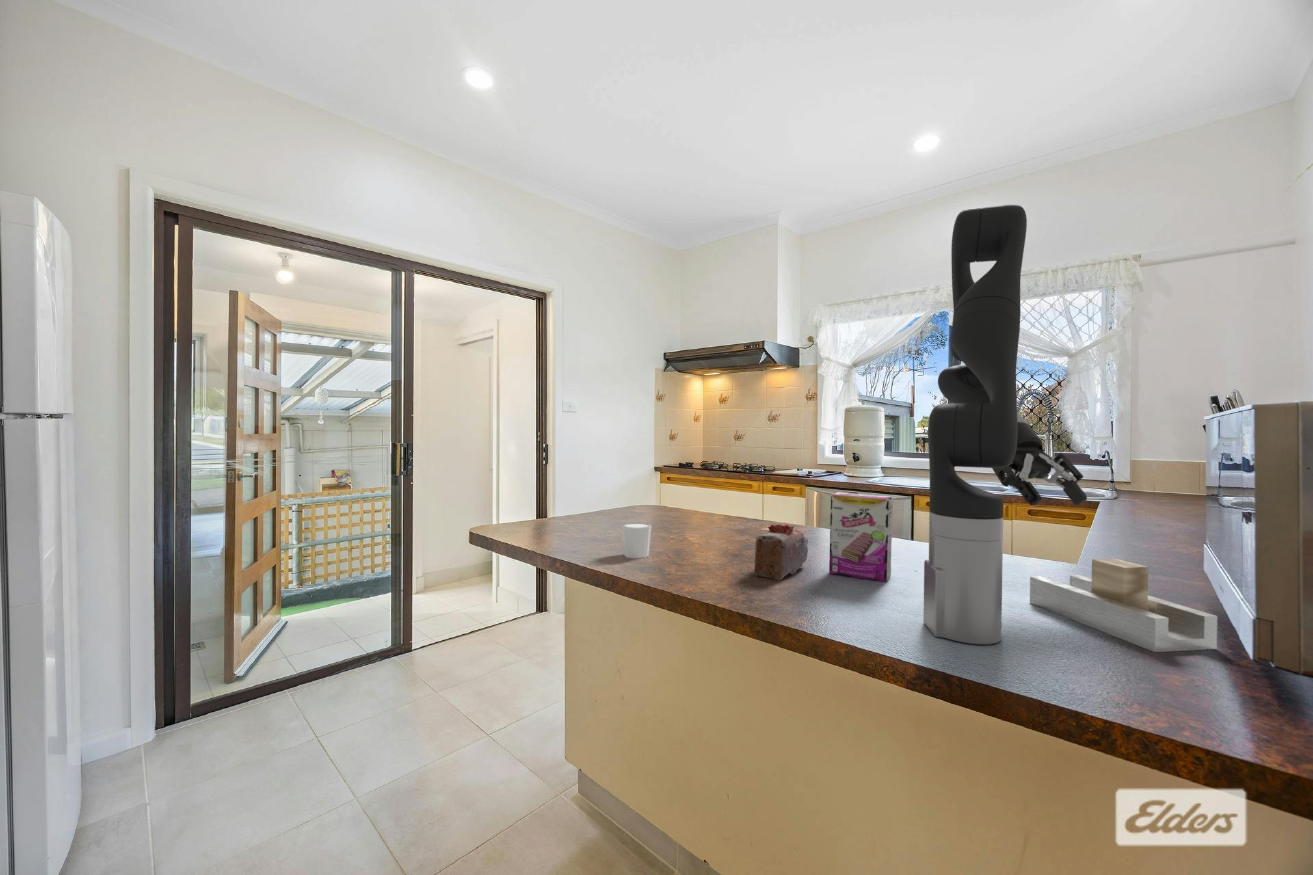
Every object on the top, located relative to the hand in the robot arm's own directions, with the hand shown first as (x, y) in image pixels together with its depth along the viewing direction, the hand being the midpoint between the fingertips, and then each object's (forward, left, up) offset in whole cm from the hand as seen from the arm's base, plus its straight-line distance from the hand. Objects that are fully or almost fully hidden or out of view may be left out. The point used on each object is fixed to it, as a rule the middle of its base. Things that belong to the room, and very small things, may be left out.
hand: (1059, 502), depth 89 cm
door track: (+3, -9, -17) cm, 20 cm away
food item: (-46, +9, -18) cm, 50 cm away
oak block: (+4, -10, -16) cm, 19 cm away
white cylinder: (-79, +14, -17) cm, 82 cm away
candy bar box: (-31, +9, -17) cm, 36 cm away
